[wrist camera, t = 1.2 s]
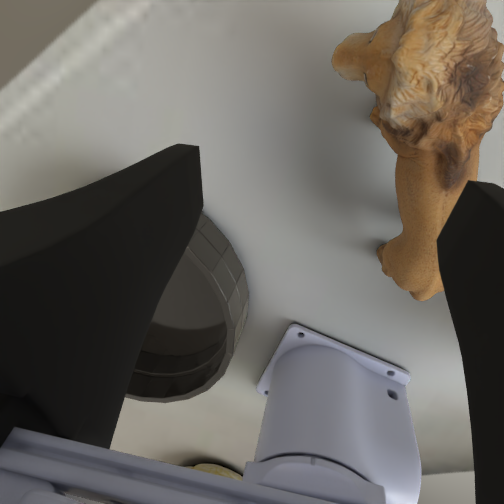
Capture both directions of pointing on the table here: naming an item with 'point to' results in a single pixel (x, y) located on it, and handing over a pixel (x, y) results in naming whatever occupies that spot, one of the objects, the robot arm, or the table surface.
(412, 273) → the lion figurine
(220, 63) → the table surface
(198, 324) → the dark grey round bowl
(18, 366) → the robot arm
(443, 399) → the table surface
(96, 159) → the table surface
